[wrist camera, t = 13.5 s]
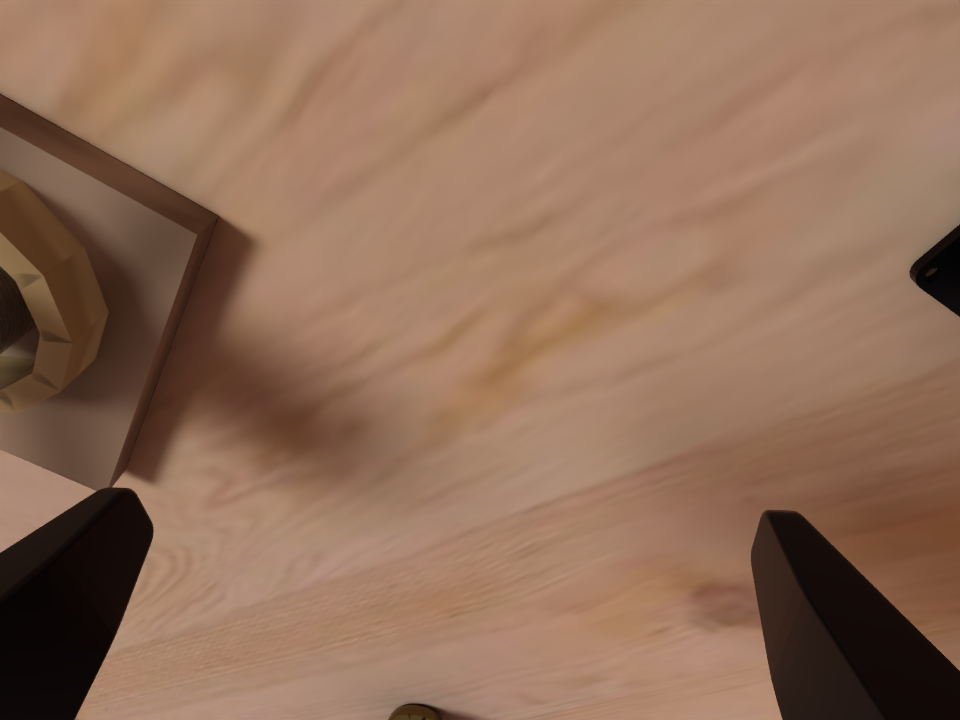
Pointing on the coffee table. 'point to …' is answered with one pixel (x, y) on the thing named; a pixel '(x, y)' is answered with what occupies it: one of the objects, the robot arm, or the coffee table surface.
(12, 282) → the silver metal cylinder
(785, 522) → the robot arm
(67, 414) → the ring seat
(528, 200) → the coffee table surface
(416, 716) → the cup
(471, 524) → the coffee table surface
